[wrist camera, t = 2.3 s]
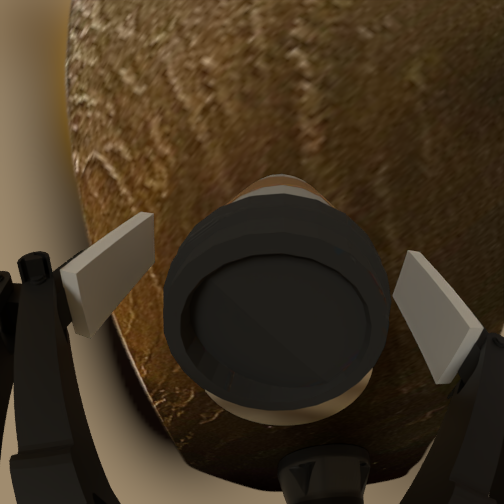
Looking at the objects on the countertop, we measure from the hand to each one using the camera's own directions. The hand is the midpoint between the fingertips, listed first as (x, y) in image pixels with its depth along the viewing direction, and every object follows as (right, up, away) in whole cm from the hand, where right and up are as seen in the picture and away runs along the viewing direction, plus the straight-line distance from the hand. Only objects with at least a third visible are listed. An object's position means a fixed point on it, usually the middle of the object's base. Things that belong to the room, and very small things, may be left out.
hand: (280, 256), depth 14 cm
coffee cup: (+1, +3, +9) cm, 9 cm away
